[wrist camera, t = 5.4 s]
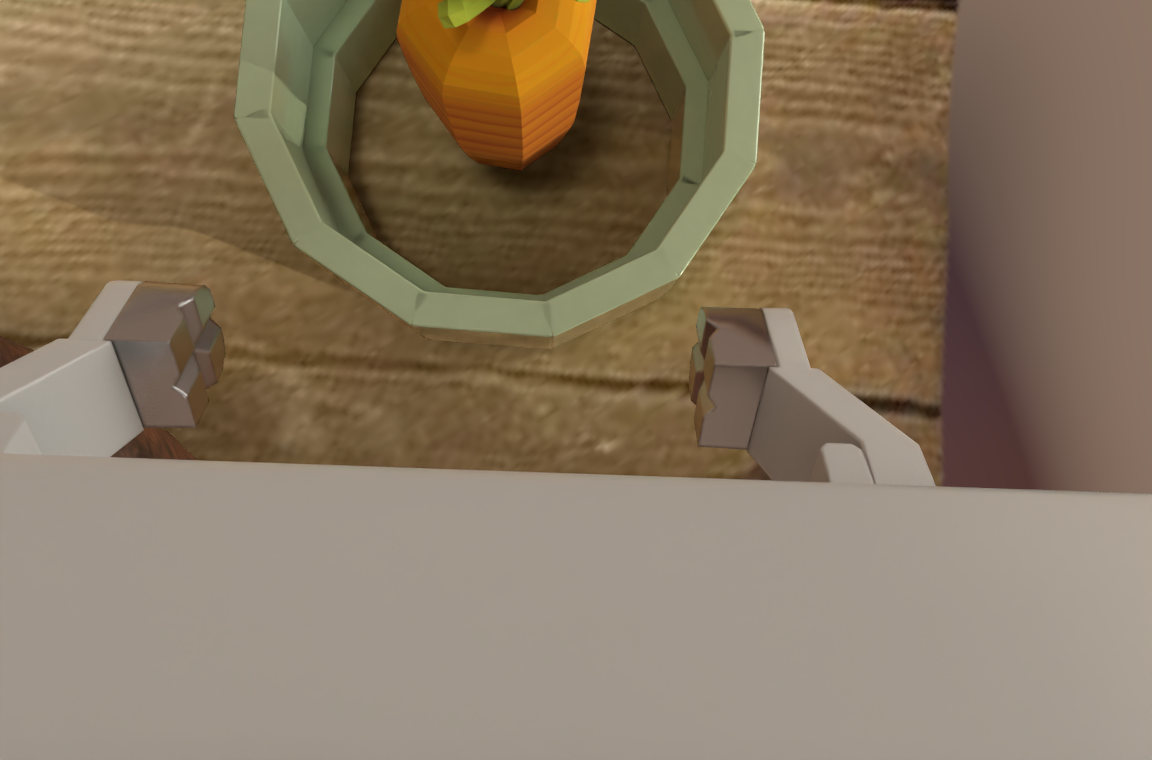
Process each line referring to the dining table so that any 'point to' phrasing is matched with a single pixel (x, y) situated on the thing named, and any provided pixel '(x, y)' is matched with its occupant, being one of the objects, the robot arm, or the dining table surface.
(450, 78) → the carrot
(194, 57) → the dining table surface
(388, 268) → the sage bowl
